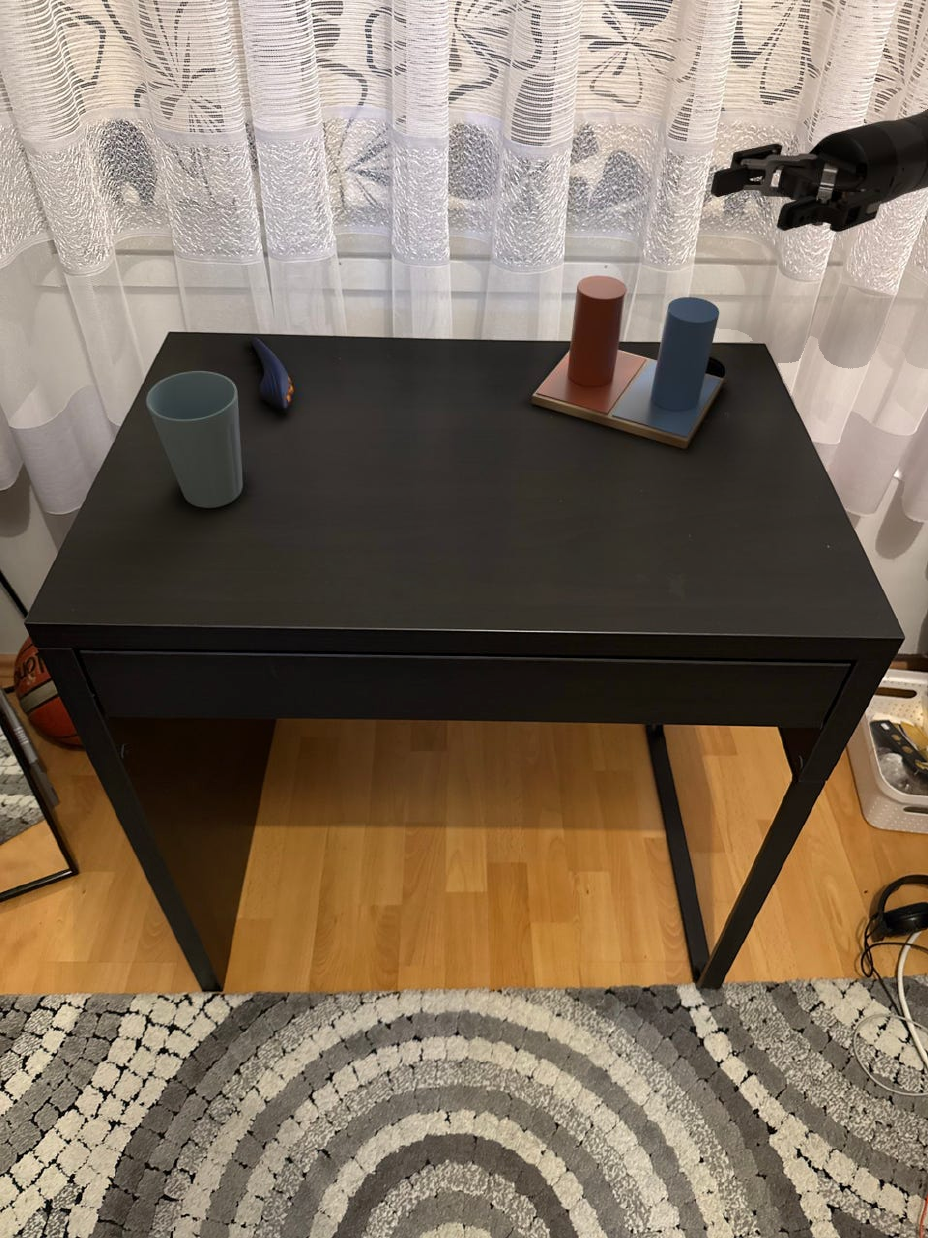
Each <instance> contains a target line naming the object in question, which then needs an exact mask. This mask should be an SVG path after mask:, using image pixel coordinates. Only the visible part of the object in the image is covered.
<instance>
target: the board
mask: <svg viewBox="0 0 928 1238" xmlns="http://www.w3.org/2000/svg"><path fill="white" fill-rule="evenodd" d="M569 354H570V350H568V352H567V353H566V354H565V355H564V356H563V357H562V359H561V360H560V361H559V363H558V364H557V365H556V366H555V367H554V369H552V370H551V372H550V373H549V375H548V376H547V377H546V378H545V380H544V381H543V382H542V383H541V384H540V385H539V386H538V387H537V389H536V390H535V391H534V393H533V394H532V396H531V404H532V405H536V406H538V407H542V408H546V409H549V410H553V411H556V412H559V413H562V414H565V415H569V416H572V417H575V418H579V419H582V420H586V421H589V422H593V423H596V424H599V425H603V426H606V427H609V428H613V429H616V430H619V431H623V432H626V433H629V434H633V435H637V436H639V437H644V438H647V439H650V440H653V441H656V442H660V443H662V444H667V445H670V446H673V447H675V448H680V449H684V450H686V449H687V448H688V447H689V445H690V443H691V441H692V439H693V438H694V436H695V434H696V433H697V431H698V429H699V427H700V426H701V424H702V422H703V421H704V419H705V417H706V415H707V414H708V412H709V410H710V408H711V407H712V405H713V404H714V402H715V400H716V398H717V397H718V395H719V393H720V392H721V389H722V388H723V386H724V381H725V378H723V377H719V376H716V375H711V374H709V373H705V377H704V381H703V385H702V390H701V394H700V398H699V402H698V404H697V405H696V406H695V407H694V408H692V409H690V410H686V411H672V410H667V409H664V408H662V407H660V406H658V405H657V404H655V403H654V402H653V400H652V398H651V391H652V386H653V380H654V375H655V370H656V365H657V360H656V359H653V358H650V357H645V356H641V355H638V354H635V353H631V352H628V351H623V350H620V349H618V352H617V359H616V365H615V372H614V377H613V380H612V381H611V382H610V383H608V384H606V385H604V386H600V387H587V386H582V385H579V384H577V383H575V382H573V381H572V380H571V379H570V378H569V376H568V373H567V372H568V363H569Z"/></svg>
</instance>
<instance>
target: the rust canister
mask: <svg viewBox="0 0 928 1238" xmlns="http://www.w3.org/2000/svg"><path fill="white" fill-rule="evenodd" d="M575 292H576V294H575V301H574V302H575V303H574V309H573V318H572V319H573V320H572V329H571V337H570V346H569V351H570V354H569V363H568V372H567V373H568V376H569V378H570V379H571V380H572V381H573V382H575V383H577V384H579V385H582V386H587V387H600V386H604V385H606V384H608V383H610V382H611V381H612V380H613V377H614V372H615V365H616V359H617V352H618V350H619V346H620V339H621V338H620V337H621V332H622V325H623V319H624V313H625V306H626V300H627V293H628V288H627V285H626V284H625V283H624V282H623V281H621V279H618V278H616V277H613V276H609V275H590V276H586V277H584V278H582V279H580V280H578V283H577V284H576V291H575Z"/></svg>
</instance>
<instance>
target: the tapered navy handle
mask: <svg viewBox="0 0 928 1238" xmlns="http://www.w3.org/2000/svg"><path fill="white" fill-rule="evenodd" d="M250 344H251V346H252V348H253V349H254V352H255V353H256V354H257V356H258V359H259V360H260V362H261V366H262V369H263V378H262V380H261V383H260V385H259V395H260V398H262V399H263V401H265V402H266V403H267V404H269V405H271V406H272V407H274V408H277V409H280V410H284V411H285V410H287V408H288V407H289V406H290V404H291V400H292V397H293V393H294V387H293V386H292V381H291V378H290V376H289V374H288V372H287V370H286V368H285V367H284V365H283V363H282V362H281V360H280V359H279V358H278V356H276V355H275V353H274V352H273V351H272V350H271V349H270V348H269V347H267V345H265V343H264V342H262V341H261V340H260V338H258V337H255V336H253V337H252V338H251V339H250Z"/></svg>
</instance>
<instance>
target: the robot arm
mask: <svg viewBox="0 0 928 1238" xmlns="http://www.w3.org/2000/svg"><path fill="white" fill-rule="evenodd" d="M924 110H925V109H924ZM924 110H922V111H923V112H922V111H921V112H919V113H916V114H912V115H909V116H906V117H902V118H898V119H893V120H880V121H875V122H872V123H868V124H863V125H860V126H855V127H852V128H849V129H845V130H841V131H837V132H833V133H830V134H828V135H826V136H825V137H823V138H822V139H820V141H819V142H817V144H815V146H814V147H813V148H812V149H810V151H809V152H808V153H807V152H806V153H805V152H802V153H798V154H797V155H796V154H795V155H787V154H786V155H785V154H782V151H783V145H782V144H780V143H777V142H776V143H771V144H765V145H760V146H755V147H752V148H747V149H742V150H738V151H733V153H732V156H731V161H730V165H729V167H727V168H724V169H720V170H717V171H716V172H714V174H713V178H712V183H711V186H710V187H711V188H710V195H711V196H714V197H715V198H721V197H725V196H728V195H732V194H736V193H740V192H742V191H758V192H760V194H761V196H762V197H770V198H771V197H773V198H789V200H790V202H787V203H784V204H783V205H782V206H781V208H780V211H779V215H778V218H777V222H776V228H777V229H779V230H780V231H783V232H786V231H789V230H793V229H798V228H801V227H804V226H809V225H812V226H813V227H822V226H824V224H828V225H829V230H830V231H832V232H834V233H842V232H844V231H847V230H849V229H852V228H854V227H857V226H860V225H862V224H865V223H867V222H871V221H872V220H875V219H876V218H877V215H878V212H879V210H880V206H881V205H884V204H886V203H889V202H892V201H894V200H896V199H898V198H899V197H902V196H905V195H907V194H910V193H913V192H917V191H920V190H923V189H925V188H926V189H927V188H928V109H927V110H925V111H924ZM777 171H780V174H779V180H778V182H777V186H773V185H772V181H773V177H774V174H776V173H777ZM756 178H760V179H759V180H753V179H756Z"/></svg>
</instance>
